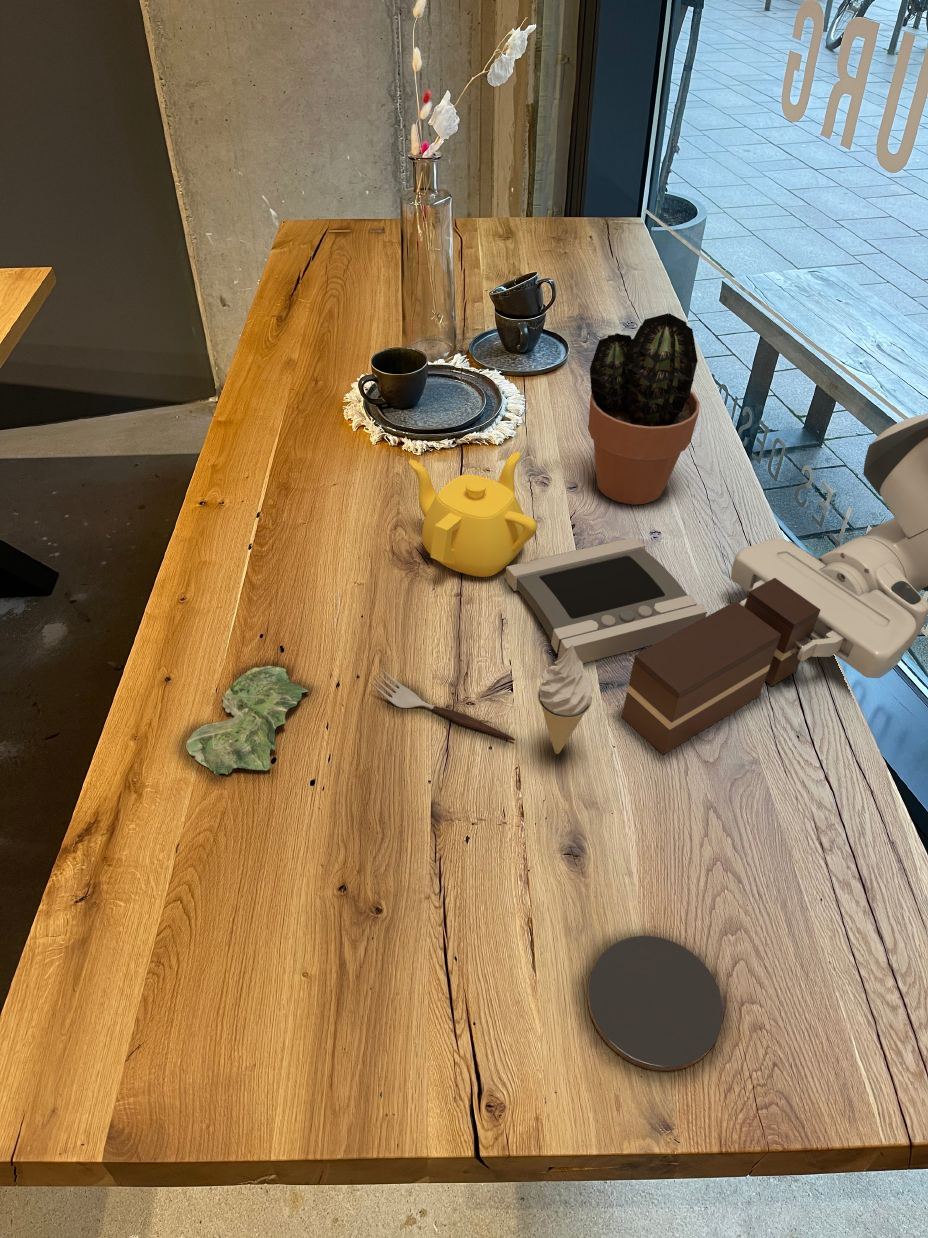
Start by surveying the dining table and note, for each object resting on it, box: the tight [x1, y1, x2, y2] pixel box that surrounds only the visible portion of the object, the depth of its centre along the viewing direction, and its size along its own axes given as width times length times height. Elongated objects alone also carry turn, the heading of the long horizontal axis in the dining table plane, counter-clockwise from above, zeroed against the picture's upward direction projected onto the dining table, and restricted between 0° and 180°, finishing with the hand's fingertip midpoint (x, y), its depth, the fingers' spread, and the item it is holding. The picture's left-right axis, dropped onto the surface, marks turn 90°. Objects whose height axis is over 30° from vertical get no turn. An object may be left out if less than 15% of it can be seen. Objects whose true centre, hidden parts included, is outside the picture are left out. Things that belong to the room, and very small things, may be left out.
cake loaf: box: [621, 600, 781, 755], centre depth 91 cm, size 14×6×9 cm, turn 125°
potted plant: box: [587, 312, 701, 505], centre depth 115 cm, size 14×14×25 cm
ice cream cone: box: [537, 645, 593, 755], centre depth 85 cm, size 5×5×15 cm
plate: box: [587, 935, 724, 1072], centre depth 71 cm, size 10×10×1 cm
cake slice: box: [744, 578, 820, 687], centre depth 96 cm, size 4×6×9 cm, turn 35°
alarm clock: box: [505, 536, 708, 664], centre depth 105 cm, size 17×5×16 cm
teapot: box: [408, 451, 538, 578], centre depth 109 cm, size 14×13×10 cm
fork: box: [369, 668, 516, 742], centre depth 92 cm, size 3×16×2 cm, turn 63°
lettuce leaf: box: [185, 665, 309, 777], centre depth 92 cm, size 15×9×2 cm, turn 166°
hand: (769, 632), depth 95 cm, fingers closed on cake slice, 6 cm apart
